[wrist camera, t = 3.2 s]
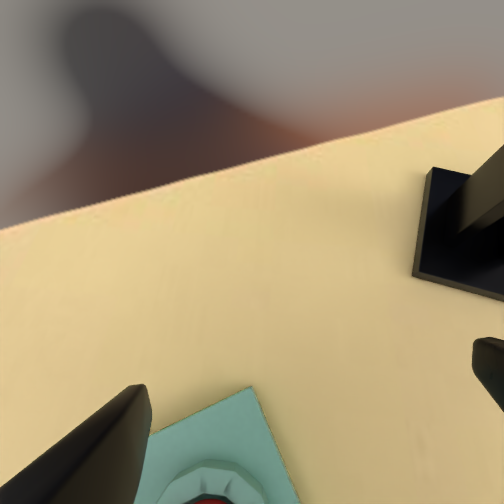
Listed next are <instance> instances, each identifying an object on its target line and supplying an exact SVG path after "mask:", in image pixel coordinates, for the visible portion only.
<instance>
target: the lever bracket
mask: <svg viewBox="0 0 504 504" xmlns="http://www.w3.org/2000/svg"><path fill="white" fill-rule="evenodd" d="M412 276H413V277H417V278H421V279H424V280H428V281H431V282H435V283H439V284H442V285H446V286H449V287H453V288H457V289H460V290H464V291H468V292H471V293H475V294H478V295H482V296H486V297H489V298H493V299H496V300H500V301H504V145H503V146H502V147H501V148H500V149H499V150H498V151H496V152H495V153H494V154H493V155H492V156H491V157H490V158H489V159H488V160H487V161H486V162H485V163H484V164H483V165H482V166H481V167H480V168H479V169H478V170H477V171H476V172H475V173H474V174H472V175H468V174H464V173H459V172H455V171H451V170H446V169H442V168H437V167H432V169H431V170H430V171H429V172H428V174H427V175H426V182H425V189H424V196H423V203H422V210H421V217H420V224H419V231H418V238H417V245H416V251H415V258H414V265H413V272H412Z"/></svg>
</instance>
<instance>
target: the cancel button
mask: <svg viewBox="0 0 504 504" xmlns="http://www.w3.org/2000/svg"><path fill="white" fill-rule="evenodd" d="M194 504H227V503H225V502H224V501H221V500H218V499H203V500H200V501H198V502H195V503H194Z"/></svg>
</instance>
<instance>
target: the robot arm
mask: <svg viewBox="0 0 504 504" xmlns="http://www.w3.org/2000/svg"><path fill="white" fill-rule="evenodd" d="M472 369H473V372H474V374H475V375H476V377H477V378H478V379H479V381H480V382H481V383H482V385H483V386H484V387H485V389H486V390H487V391H488V392H489V394H490V395H491V396H492V398H493V399H494V400H495V401H496V403H497V404H498V405H499V407H500V408H501V409H502V411H503V412H504V340H501V339H497V338H493V337H486V338H479V339H476V340H475V341H474V342H473V352H472ZM151 421H152V408H151V404H150V399H149V395H148V391H147V388H146V386H145V385H144V384H137V385H130V386H128V387H127V388H126V389H124V390H123V391H122V392H120V393H119V394H118V395H117V396H115V397H114V398H113V399H112V400H110V401H109V402H108V403H107V404H105V405H104V406H103V407H102V408H100V409H99V410H98V411H96V412H95V413H94V414H93V415H91V416H90V417H89V418H88V419H86V420H85V421H84V422H83V423H81V424H80V425H79V426H77V427H76V428H75V429H74V430H72V431H71V432H70V433H69V434H67V435H66V436H65V437H64V438H62V439H61V440H60V441H58V442H57V443H56V444H55V445H53V446H52V447H51V448H50V449H48V450H47V451H46V452H45V453H43V454H42V455H41V456H39V457H38V458H37V459H36V460H34V461H33V462H32V463H31V464H29V465H28V466H27V467H26V468H24V469H23V470H22V471H21V472H19V473H18V474H17V475H15V476H14V477H13V478H12V479H10V480H9V481H8V482H7V483H5V484H4V485H3V486H2V487H0V504H134V501H135V498H136V494H137V491H138V487H139V483H140V479H141V475H142V470H143V465H144V459H145V454H146V448H147V443H148V438H149V432H150V427H151Z"/></svg>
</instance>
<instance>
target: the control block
mask: <svg viewBox="0 0 504 504" xmlns="http://www.w3.org/2000/svg"><path fill="white" fill-rule="evenodd" d="M203 499H218V500H221V501H224V502H225V503H227V504H301V503H300V500H299V498H298V495H297V493H296V490H295V488H294V486H293V483H292V481H291V478H290V476H289V474H288V471H287V469H286V466H285V464H284V461H283V459H282V457H281V454H280V452H279V449H278V447H277V445H276V442H275V440H274V437H273V435H272V432H271V430H270V428H269V425H268V423H267V420H266V418H265V416H264V413H263V411H262V408H261V406H260V403H259V401H258V399H257V396H256V394H255V391H254V389H253V387H252V386H250V387H248V388H246V389H244V390H242V391H240V392H237V393H235V394H233V395H231V396H229V397H227V398H225V399H223V400H221V401H219V402H217V403H215V404H213V405H211V406H209V407H207V408H205V409H203V410H201V411H199V412H197V413H194V414H192V415H190V416H188V417H186V418H184V419H182V420H180V421H178V422H176V423H174V424H172V425H170V426H168V427H166V428H164V429H162V430H160V431H158V432H156V433H153V434H151V435H149V438H148V443H147V448H146V454H145V459H144V465H143V470H142V475H141V479H140V483H139V487H138V491H137V494H136V498H135V501H134V504H194V503H195V502H198V501H200V500H203Z"/></svg>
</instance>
